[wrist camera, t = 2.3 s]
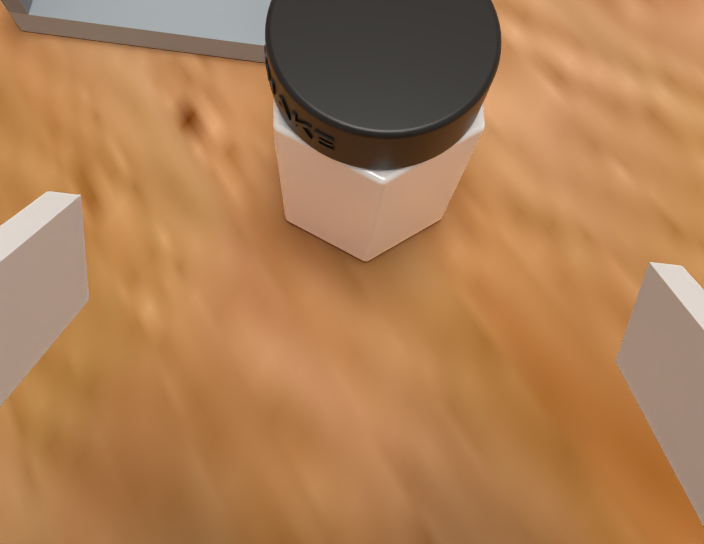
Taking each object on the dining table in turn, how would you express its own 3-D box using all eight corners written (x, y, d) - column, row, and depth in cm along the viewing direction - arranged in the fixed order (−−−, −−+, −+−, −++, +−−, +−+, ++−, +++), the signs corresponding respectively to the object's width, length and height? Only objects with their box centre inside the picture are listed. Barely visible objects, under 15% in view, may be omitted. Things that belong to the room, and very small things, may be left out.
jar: (281, 101, 35) (263, -80, 24) (435, 101, 36) (491, -77, 24) (281, 264, 33) (260, 149, 21) (447, 262, 33) (515, 148, 22)
